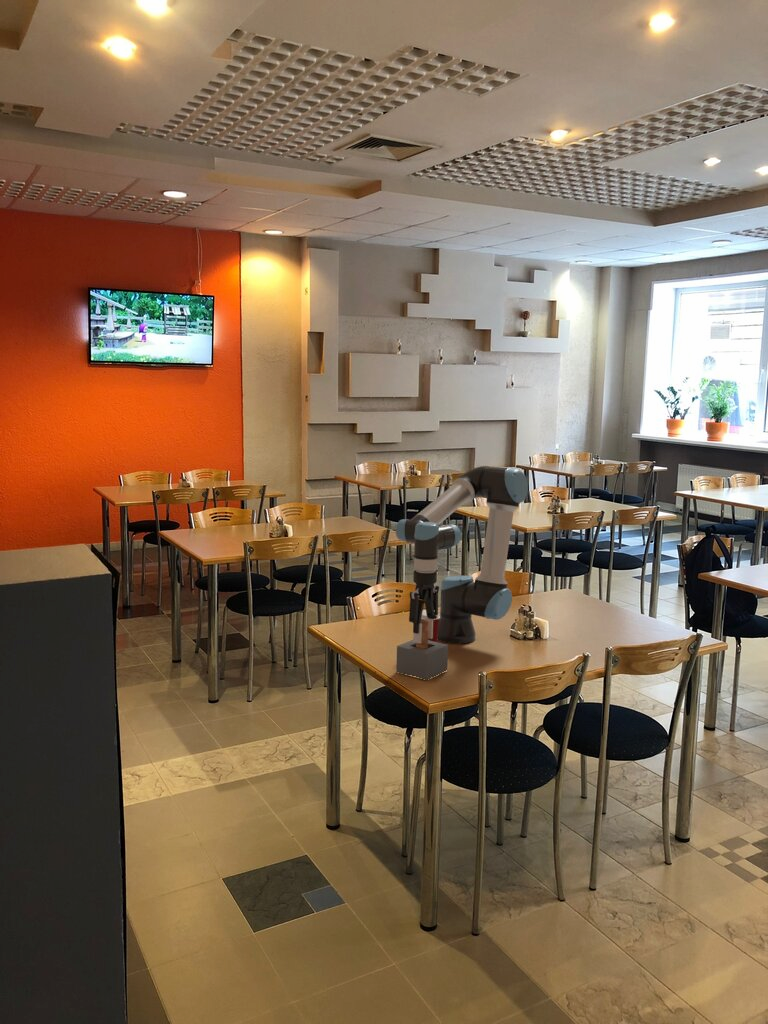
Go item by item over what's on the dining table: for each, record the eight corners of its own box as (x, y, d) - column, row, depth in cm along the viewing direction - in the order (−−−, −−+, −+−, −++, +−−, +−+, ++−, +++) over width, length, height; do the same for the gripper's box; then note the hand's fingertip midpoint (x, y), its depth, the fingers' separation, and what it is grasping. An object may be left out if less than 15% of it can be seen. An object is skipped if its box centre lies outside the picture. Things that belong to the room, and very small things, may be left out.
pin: (420, 659, 282) (420, 619, 279) (430, 662, 280) (430, 621, 277) (413, 663, 279) (413, 622, 276) (423, 666, 277) (423, 624, 274)
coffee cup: (437, 650, 302) (439, 609, 300) (439, 658, 294) (441, 616, 292) (413, 650, 302) (415, 609, 300) (415, 658, 294) (416, 615, 291)
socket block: (417, 663, 288) (418, 637, 287) (447, 671, 281) (448, 645, 280) (396, 672, 279) (397, 646, 277) (426, 681, 272) (427, 653, 270)
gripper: (431, 564, 284) (429, 631, 288) (398, 573, 269) (396, 644, 273) (451, 567, 280) (448, 635, 284) (418, 577, 265) (415, 649, 269)
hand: (422, 639), depth 278 cm, fingers open, 6 cm apart
